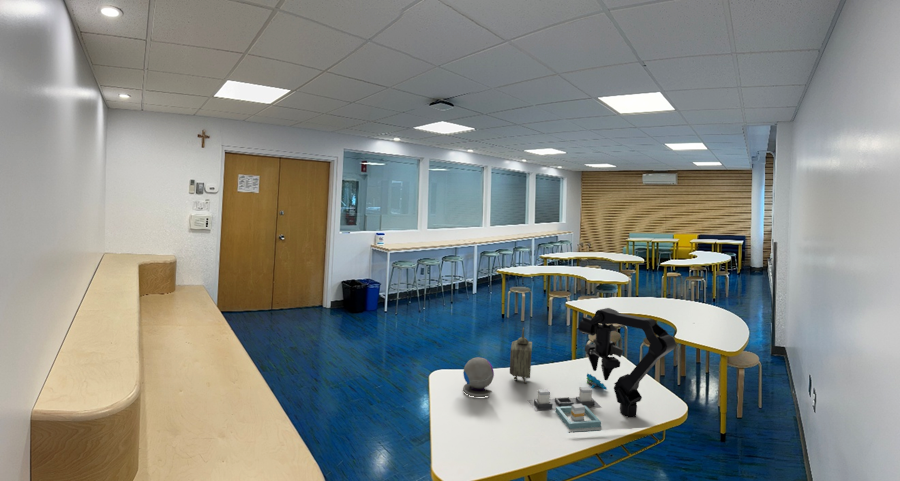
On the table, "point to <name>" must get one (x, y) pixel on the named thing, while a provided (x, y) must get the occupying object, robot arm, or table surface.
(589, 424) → the tray
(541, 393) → the block
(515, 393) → the table surface
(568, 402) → the fuse holder
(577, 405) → the marked fuse
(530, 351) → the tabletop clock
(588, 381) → the gear
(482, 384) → the webcam
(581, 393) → the white fuse right
